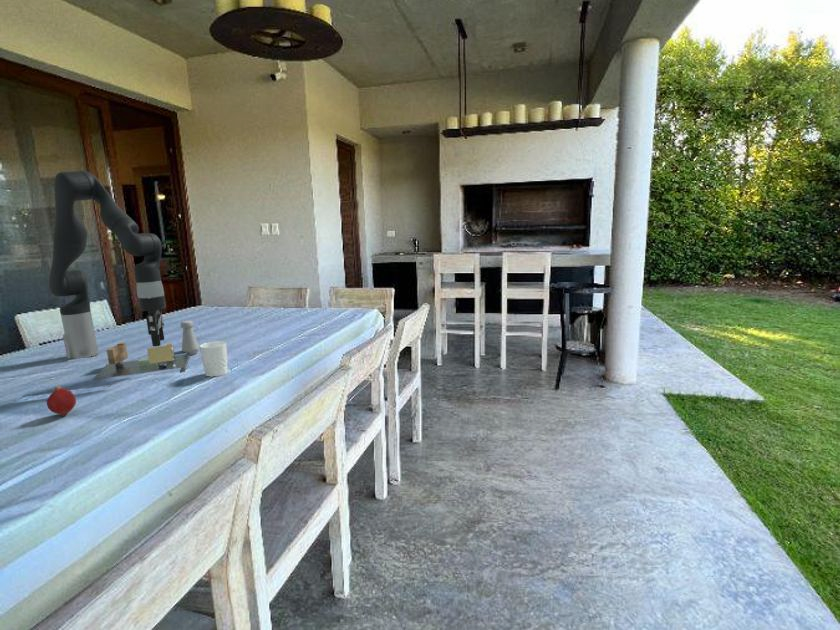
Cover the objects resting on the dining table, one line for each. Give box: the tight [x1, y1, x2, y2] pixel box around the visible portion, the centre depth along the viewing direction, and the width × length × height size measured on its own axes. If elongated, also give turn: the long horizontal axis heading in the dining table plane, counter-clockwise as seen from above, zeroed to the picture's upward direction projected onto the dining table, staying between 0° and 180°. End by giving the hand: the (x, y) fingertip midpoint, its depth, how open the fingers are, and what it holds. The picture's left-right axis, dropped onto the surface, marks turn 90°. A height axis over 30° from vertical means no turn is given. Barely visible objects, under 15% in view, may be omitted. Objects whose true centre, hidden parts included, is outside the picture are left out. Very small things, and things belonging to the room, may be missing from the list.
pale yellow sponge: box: [146, 343, 174, 367], centre depth 149 cm, size 7×2×7 cm, turn 112°
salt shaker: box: [180, 320, 200, 356], centre depth 169 cm, size 6×6×13 cm
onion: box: [46, 386, 77, 417], centre depth 115 cm, size 6×6×8 cm
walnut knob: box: [106, 342, 129, 367], centre depth 151 cm, size 7×2×7 cm, turn 2°
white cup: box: [198, 340, 229, 378], centre depth 145 cm, size 8×8×10 cm
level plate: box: [91, 346, 191, 380], centre depth 152 cm, size 26×18×6 cm
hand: (158, 343), depth 148 cm, fingers open, 8 cm apart
